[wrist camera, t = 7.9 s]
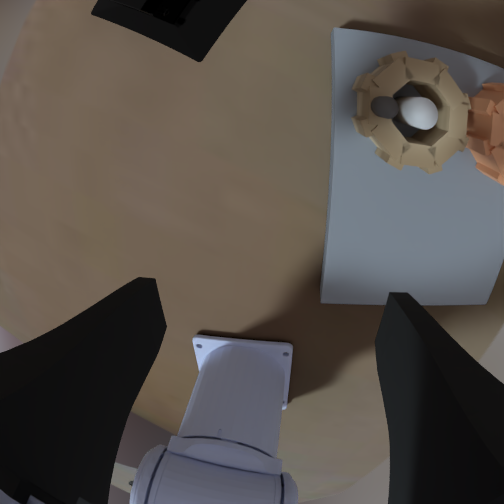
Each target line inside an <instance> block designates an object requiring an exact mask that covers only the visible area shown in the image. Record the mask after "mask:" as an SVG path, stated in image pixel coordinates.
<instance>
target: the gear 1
mask: <svg viewBox="0 0 504 504" xmlns="http://www.w3.org/2000/svg"><path fill="white" fill-rule="evenodd" d="M377 61H378V63H379V67H378V68H377V69H375V70H374V71H373V72H372V73H371V74H369V73H365V74H362V75H360V76H357V78H356V80H355V82H354V84H353V87H352V90H354V91H356V92H357V116H353V117H351V119H352V122H353V124H354V127H355V130H356V132H358V133H359V134H361V135H363V136H364V137H366V138H367V137H369V138H370V139H371V140H372V142H373V143H374V144H375V145H376V146H377V149H376V151H375V154H376V155H378V156H379V157H380V158H381V159H383V160H384V161H385V162H386V163H388V164H390V165H391V166H393V167H395V168H397V169H398V170H400V171H401V170H402V168H403V166H404V165H409V166H417V167H419V168H420V169H422V170H423V171H425V172H426V173H428V174H433V173H436V172H439V171H442V170H443V169H442V164H444V163H445V162H446V161H447V160H448V159H449V158H450V157H451V156H453V155H454V154H455V153H456V152H457V151H458V150H459V151H461V152H463V151H464V149H465V147H466V145H467V143H468V141H469V138H468V137H466V132H467V118H468V110H470V109H471V105H470V101H469V98H468V94H467V93H462V92H461V90H460V89H459V87H458V86H457V84H456V83H455V81H454V80H453V78H452V77H451V76H450V74H449V73H448V68H449V66H447V65H446V64H444V63H443V62H442V61H440V60H439V59H437V58H436V57H435V58H430V59H426V60H419V59H415V58H410V57H408V54H407V52H406V51H401V52H396V53H392V54H389V55H387V56H384V57H382V58H380V59H378V60H377ZM405 84H407V85H413V86H414V88H415V89H416V90H417V91H418V93H419V94H420V95H421V97H424V98H427V99H429V100H431V101H432V102H433V103H434V104H435V106H436V108H437V111H438V120H437V122H436V124H435V125H434V126H433V127H432V128H430V129H427V130H424V129H420V130H418V131H417V132H416V133H415V134H414V135H413V136H411V137H405V136H403V135H402V134H401V133H400V131H399V130H398V129H397V127H396V126H395V125H394V124H393V122H392V118H394V117H395V116H396V115H397V113H398V110H399V107H398V104H397V102H396V101H395V99H393V94H394V93H396V92H397V91H398V90H399V89H400V88H401V87H403V86H404V85H405Z"/></svg>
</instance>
